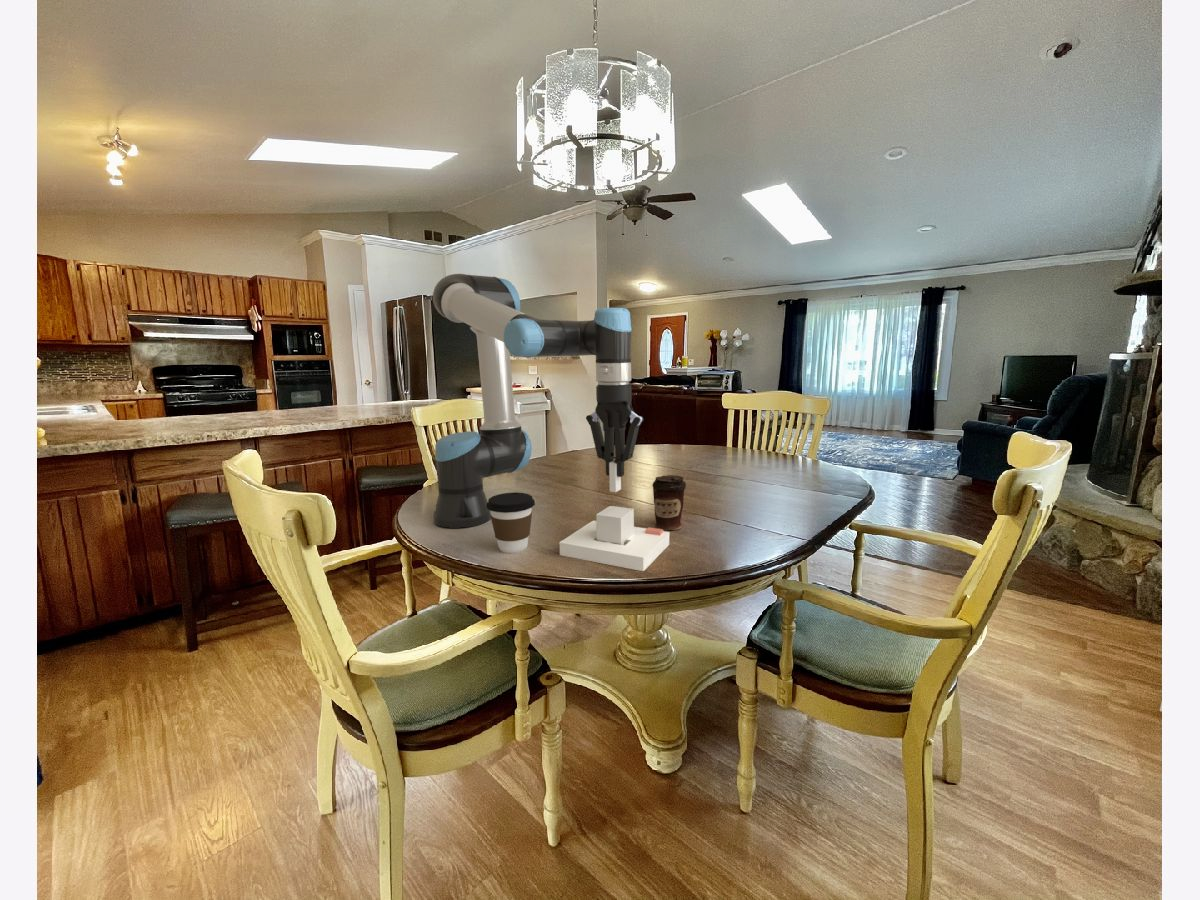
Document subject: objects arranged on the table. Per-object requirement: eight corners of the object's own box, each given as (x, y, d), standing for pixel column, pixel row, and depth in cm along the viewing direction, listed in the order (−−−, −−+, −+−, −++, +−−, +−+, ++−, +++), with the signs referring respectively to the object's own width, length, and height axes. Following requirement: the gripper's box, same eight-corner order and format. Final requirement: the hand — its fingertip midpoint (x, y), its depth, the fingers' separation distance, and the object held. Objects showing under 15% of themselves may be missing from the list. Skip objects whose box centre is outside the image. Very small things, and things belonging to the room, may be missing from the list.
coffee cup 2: (684, 534, 122) (685, 482, 120) (650, 532, 124) (650, 481, 121) (685, 522, 131) (686, 474, 128) (654, 520, 132) (654, 473, 130)
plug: (621, 556, 109) (620, 518, 107) (596, 552, 112) (596, 514, 110) (633, 545, 115) (633, 508, 113) (610, 541, 118) (610, 505, 116)
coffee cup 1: (495, 539, 121) (492, 491, 119) (540, 539, 121) (538, 491, 118) (483, 557, 110) (480, 505, 108) (532, 557, 110) (530, 505, 108)
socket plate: (643, 571, 102) (643, 553, 101) (559, 555, 111) (559, 538, 110) (669, 544, 116) (669, 528, 115) (593, 531, 125) (593, 517, 124)
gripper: (578, 384, 106) (581, 491, 110) (635, 384, 100) (635, 498, 104) (594, 382, 112) (597, 483, 117) (648, 382, 107) (649, 489, 111)
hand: (615, 490), depth 111 cm, fingers closed
